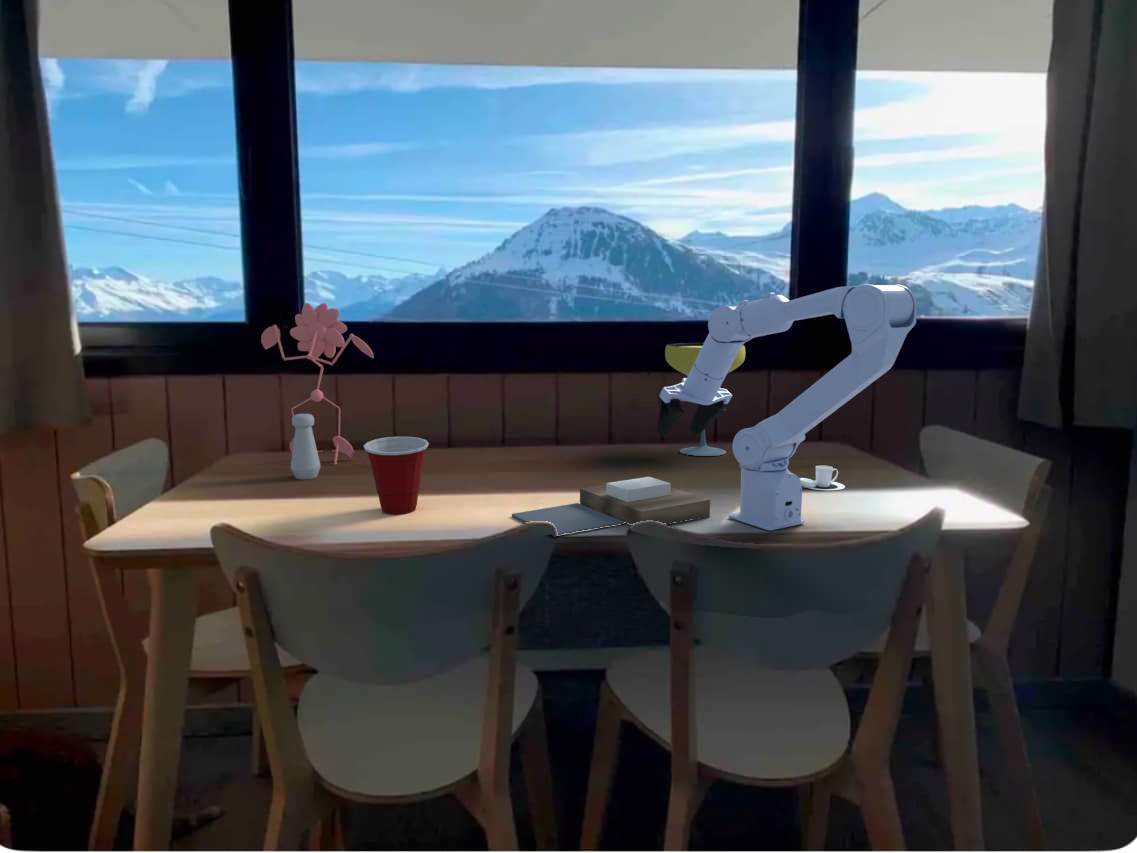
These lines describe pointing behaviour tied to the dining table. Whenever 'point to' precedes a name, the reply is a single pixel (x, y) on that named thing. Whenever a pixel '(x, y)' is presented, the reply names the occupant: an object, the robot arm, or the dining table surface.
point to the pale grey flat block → (638, 489)
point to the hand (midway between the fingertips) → (677, 433)
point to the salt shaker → (304, 448)
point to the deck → (647, 506)
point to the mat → (569, 518)
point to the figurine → (318, 351)
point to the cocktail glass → (683, 361)
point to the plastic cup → (397, 471)
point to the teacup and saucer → (822, 479)
